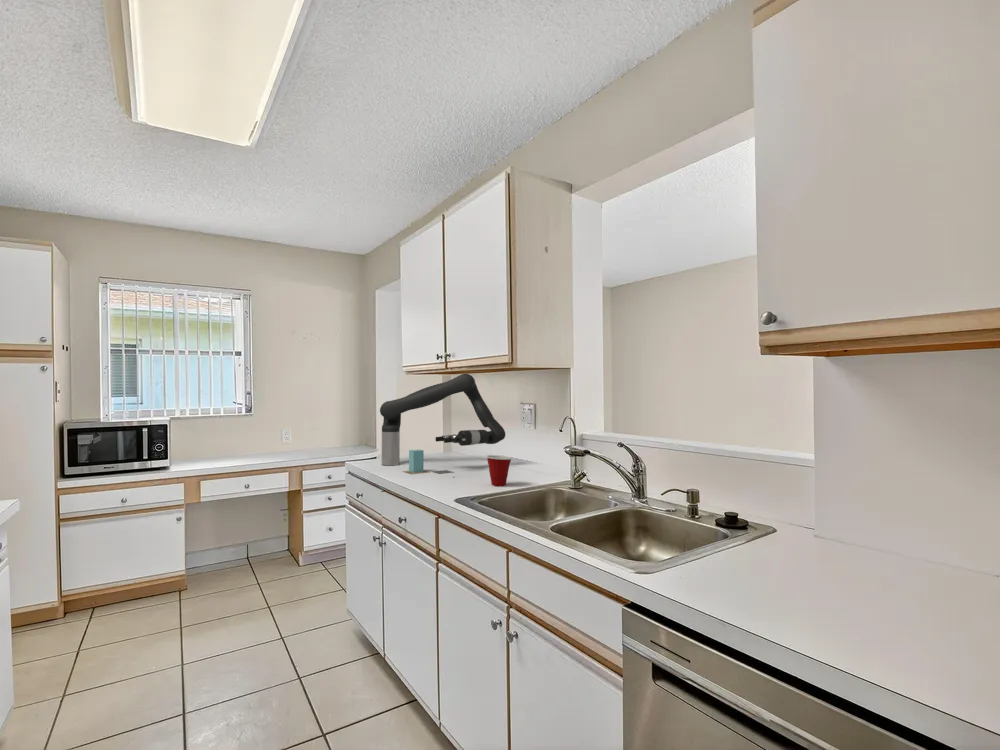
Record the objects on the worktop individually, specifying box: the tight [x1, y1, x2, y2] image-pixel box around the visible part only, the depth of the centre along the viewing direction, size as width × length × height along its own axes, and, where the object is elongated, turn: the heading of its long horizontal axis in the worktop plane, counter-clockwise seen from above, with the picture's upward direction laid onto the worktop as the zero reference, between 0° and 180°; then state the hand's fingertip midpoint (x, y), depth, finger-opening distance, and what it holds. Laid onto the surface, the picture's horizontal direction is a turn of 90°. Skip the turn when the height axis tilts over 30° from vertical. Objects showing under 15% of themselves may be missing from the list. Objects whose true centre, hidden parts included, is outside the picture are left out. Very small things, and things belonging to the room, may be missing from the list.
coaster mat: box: [432, 469, 455, 475], centre depth 241 cm, size 8×8×1 cm
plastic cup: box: [485, 454, 513, 487], centre depth 214 cm, size 11×11×12 cm
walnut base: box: [402, 469, 431, 475], centre depth 242 cm, size 10×10×5 cm
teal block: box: [408, 449, 425, 473], centre depth 242 cm, size 5×5×10 cm
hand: (439, 439), depth 249 cm, fingers open, 8 cm apart
